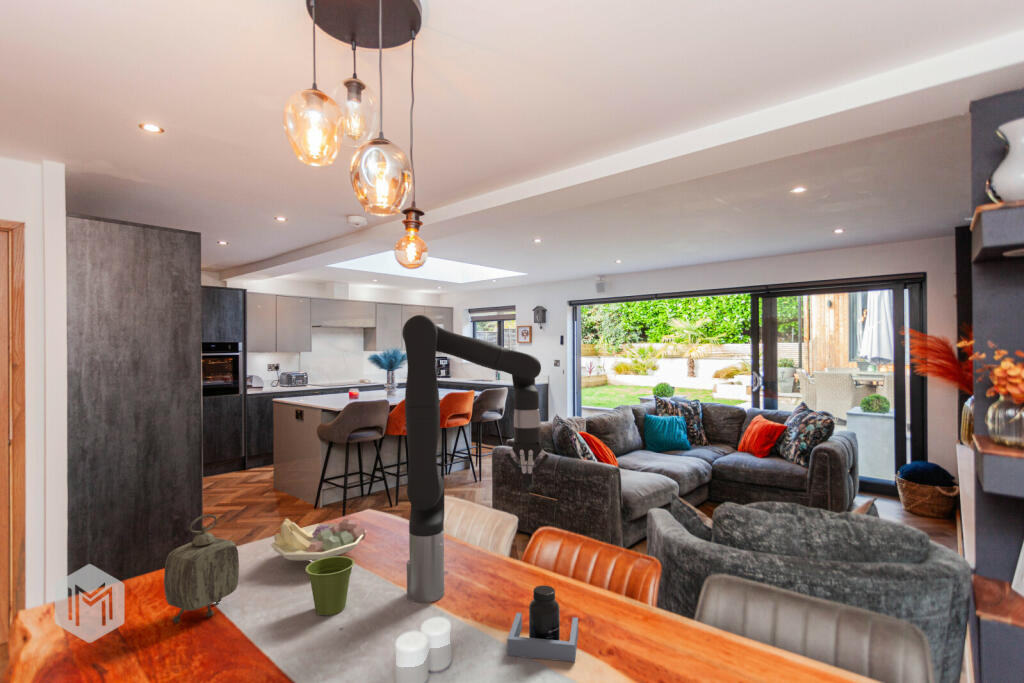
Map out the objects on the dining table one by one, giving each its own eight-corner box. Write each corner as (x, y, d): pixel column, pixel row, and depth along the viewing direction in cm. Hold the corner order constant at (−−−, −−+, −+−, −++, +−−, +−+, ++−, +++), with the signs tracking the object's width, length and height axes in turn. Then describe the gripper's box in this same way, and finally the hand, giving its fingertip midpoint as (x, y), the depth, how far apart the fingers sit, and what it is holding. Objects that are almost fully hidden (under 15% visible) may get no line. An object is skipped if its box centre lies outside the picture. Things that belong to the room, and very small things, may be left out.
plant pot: (364, 602, 134) (364, 559, 134) (331, 625, 123) (330, 578, 123) (330, 594, 139) (330, 552, 139) (295, 615, 128) (294, 570, 128)
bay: (507, 655, 110) (507, 638, 110) (517, 627, 121) (516, 612, 121) (574, 662, 107) (574, 645, 107) (578, 632, 118) (578, 617, 118)
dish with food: (252, 562, 159) (254, 516, 159) (330, 535, 182) (331, 496, 182) (305, 590, 143) (307, 540, 143) (383, 557, 166) (385, 514, 166)
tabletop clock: (220, 598, 137) (220, 505, 138) (243, 605, 133) (242, 509, 134) (164, 625, 124) (163, 521, 125) (186, 633, 120) (186, 527, 121)
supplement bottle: (556, 655, 109) (555, 599, 110) (525, 650, 111) (525, 595, 112) (562, 638, 116) (561, 584, 116) (533, 633, 118) (532, 581, 118)
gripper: (501, 426, 143) (502, 488, 142) (548, 427, 140) (549, 490, 140) (506, 422, 150) (507, 482, 150) (551, 423, 148) (552, 483, 147)
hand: (527, 486), depth 145 cm, fingers closed
